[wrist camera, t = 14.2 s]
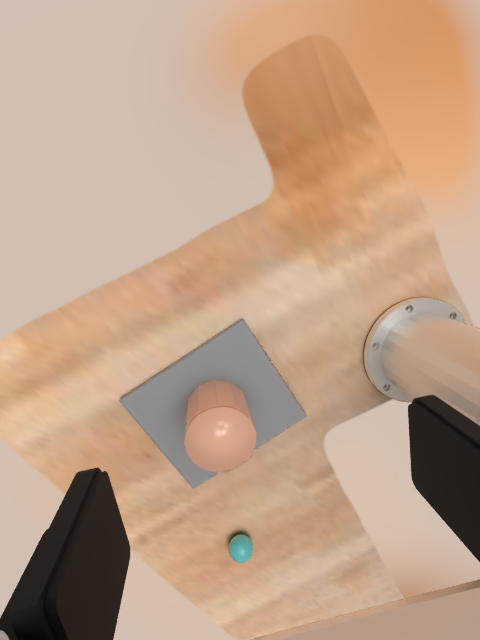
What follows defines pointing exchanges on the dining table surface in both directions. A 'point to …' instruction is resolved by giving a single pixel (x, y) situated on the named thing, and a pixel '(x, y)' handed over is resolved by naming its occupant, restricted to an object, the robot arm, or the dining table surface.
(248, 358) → the slate mat
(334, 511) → the dining table surface
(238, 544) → the teal ball
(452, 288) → the dining table surface
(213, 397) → the peach domed cylinder
